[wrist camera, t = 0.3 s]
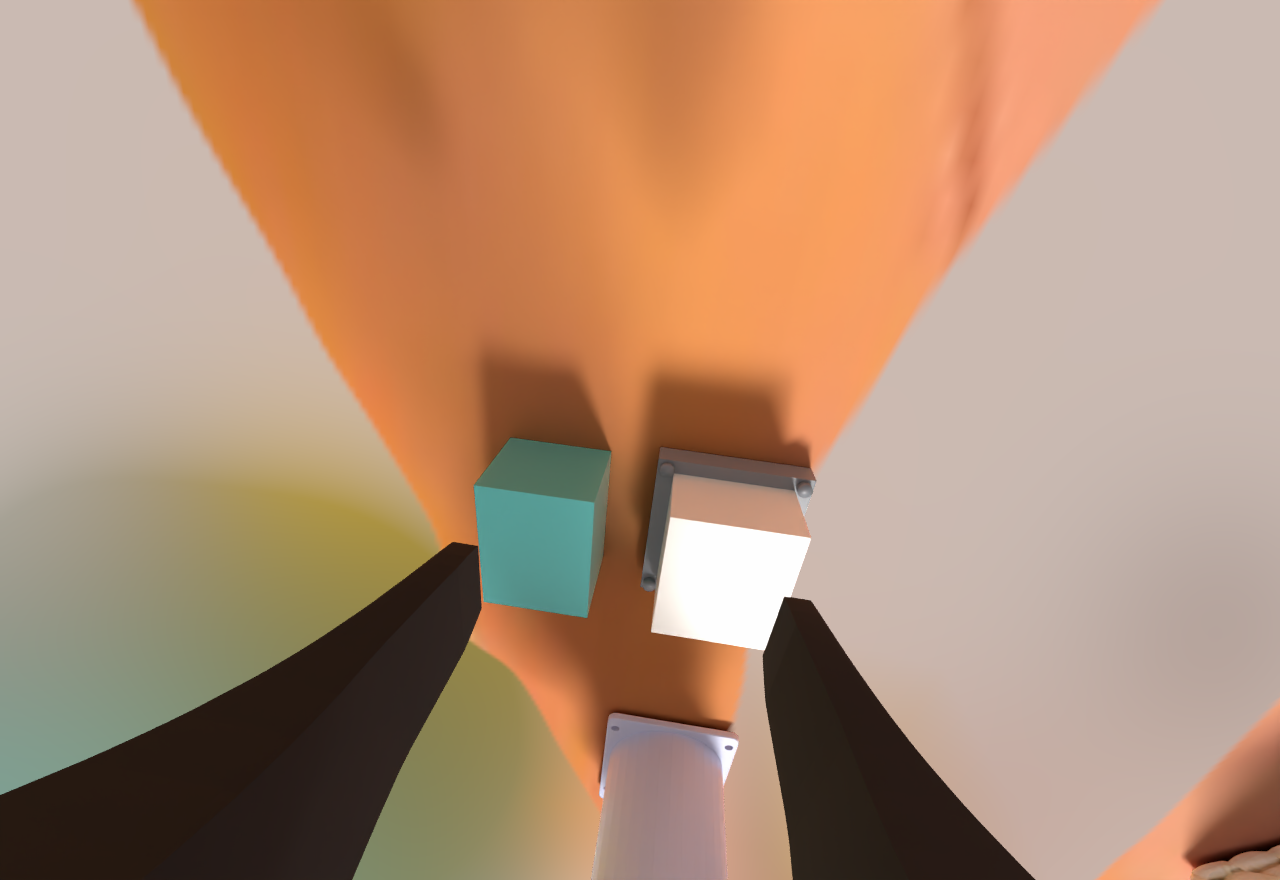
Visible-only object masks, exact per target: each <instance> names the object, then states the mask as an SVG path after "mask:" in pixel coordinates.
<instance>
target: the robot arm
mask: <svg viewBox="0 0 1280 880" xmlns="http://www.w3.org/2000/svg"><path fill="white" fill-rule="evenodd" d="M481 608H482V607H481V590H480V573H479V556H478V546H474V545H468V544H462V543H456V542H452V543H451V544H449V545H448V546H447V547H445V548H444V549H443V550H441V551H440V552H439V553H437V554H436V555H435V556H434V557H432V558H431V559H430V560H428V561H427V562H426V563H424V564H423V565H422V566H421V567H419V568H418V569H417V570H415V571H414V572H413V573H411V574H410V575H409V576H407V577H406V578H405V579H403V580H402V581H401V582H399V583H398V584H397V585H395V586H394V587H393V588H391V589H390V590H389V591H387V592H386V593H384V594H383V595H382V596H380V597H379V598H378V599H377V600H375V601H374V602H372V603H371V604H369V605H368V606H367V607H365V608H364V609H363V610H361V611H359V612H358V613H357V614H355V615H354V616H352V617H351V618H349V619H348V620H346V621H345V622H343V623H342V624H340V625H339V626H337V627H336V628H334V629H333V630H331V631H330V632H328V633H327V634H325V635H324V636H322V637H321V638H319V639H318V640H316V641H315V642H313V643H311V644H310V645H308V646H307V647H305V648H304V649H302V650H300V651H299V652H297V653H295V654H294V655H292V656H290V657H289V658H287V659H285V660H284V661H282V662H280V663H279V664H277V665H275V666H273V667H272V668H270V669H268V670H267V671H265V672H263V673H261V674H259V675H258V676H256V677H254V678H252V679H250V680H249V681H247V682H245V683H243V684H241V685H239V686H237V687H235V688H233V689H231V690H229V691H228V692H226V693H224V694H222V695H220V696H218V697H216V698H214V699H212V700H210V701H208V702H207V703H205V704H203V705H201V706H200V707H197V708H195V709H193V710H192V711H189V712H187V713H185V714H183V715H181V716H179V717H177V718H175V719H173V720H171V721H169V722H167V723H165V724H162V725H161V726H158V727H156V728H154V729H152V730H150V731H148V732H146V733H144V734H141V735H139V736H137V737H135V738H133V739H130V740H128V741H126V742H124V743H122V744H119V745H117V746H115V747H113V748H111V749H109V750H106V751H104V752H102V753H99V754H97V755H95V756H93V757H90V758H88V759H86V760H84V761H81V762H79V763H76V764H74V765H72V766H69V767H67V768H64V769H62V770H60V771H57V772H55V773H52V774H50V775H48V776H45V777H43V778H41V779H38V780H36V781H33V782H31V783H28V784H26V785H24V786H21V787H19V788H17V789H14V790H11V791H9V792H7V793H4V794H2V795H0V880H352V879H353V876H354V874H355V872H356V869H357V867H358V865H359V862H360V860H361V858H362V855H363V853H364V851H365V848H366V846H367V843H368V841H369V839H370V837H371V834H372V832H373V830H374V827H375V825H376V822H377V820H378V818H379V816H380V813H381V811H382V809H383V807H384V804H385V802H386V800H387V798H388V796H389V793H390V791H391V789H392V787H393V784H394V782H395V780H396V777H397V775H398V773H399V771H400V769H401V767H402V765H403V763H404V761H405V759H406V757H407V755H408V753H409V751H410V749H411V747H412V745H413V743H414V742H415V740H416V738H417V736H418V734H419V733H420V731H421V729H422V727H423V725H424V723H425V722H426V720H427V718H428V716H429V714H430V713H431V710H432V709H433V707H434V705H435V704H436V702H437V700H438V698H439V696H440V694H441V692H442V691H443V689H444V687H445V685H446V683H447V682H448V680H449V678H450V676H451V674H452V672H453V670H454V669H455V667H456V665H457V663H458V661H459V660H460V658H461V656H462V654H463V652H464V650H465V647H466V645H467V643H468V641H469V638H470V636H471V634H472V631H473V629H474V626H475V624H476V621H477V619H478V616H479V614H480V611H481ZM763 671H764V686H765V687H764V688H765V701H766V708H767V713H768V720H769V725H770V731H771V737H772V743H773V748H774V754H775V759H776V765H777V770H778V776H779V781H780V787H781V793H782V799H783V804H784V810H785V815H786V822H787V829H788V836H789V844H790V854H791V864H792V876H793V880H1035V879H1034V878H1033V877H1032V876H1031V875H1030V874H1029V873H1028V872H1027V871H1026V870H1025V869H1024V868H1023V867H1022V866H1021V865H1020V864H1019V863H1018V862H1017V861H1016V860H1015V858H1014V857H1013V856H1011V854H1010V853H1009V852H1008V851H1007V850H1006V849H1005V848H1004V847H1003V846H1002V845H1001V844H1000V843H999V842H998V841H997V840H996V839H995V838H994V837H993V836H992V835H991V833H989V831H988V830H987V829H986V828H985V827H984V826H983V825H982V824H981V823H980V822H979V821H978V820H977V819H976V818H975V817H974V815H973V814H972V813H971V812H970V811H969V810H968V809H967V808H966V807H965V806H964V805H963V803H962V802H961V801H960V800H959V799H958V798H957V797H956V795H955V794H954V793H953V792H952V791H951V790H950V789H949V788H948V787H947V785H946V784H945V783H944V782H943V780H942V779H941V778H940V777H939V776H938V775H937V774H936V772H935V771H934V770H933V769H932V768H931V767H930V765H929V764H928V763H927V762H926V761H925V759H924V758H923V757H922V756H921V755H920V753H919V752H918V751H917V750H916V749H915V747H914V746H913V745H912V744H911V742H910V741H909V740H908V739H907V737H906V736H905V735H904V733H903V732H902V731H901V729H900V728H899V727H898V725H896V723H895V722H894V720H893V719H892V718H891V716H890V715H889V714H888V713H887V711H886V710H885V708H884V707H883V706H882V704H881V703H880V702H879V700H878V699H877V697H876V696H875V695H874V693H873V692H872V691H871V689H870V688H869V686H868V685H867V683H866V682H865V681H864V679H863V678H862V676H861V675H860V673H859V672H858V671H857V669H856V668H855V666H854V665H853V663H852V662H851V660H850V659H849V658H848V656H847V654H846V653H845V651H844V650H843V648H842V647H841V646H840V644H839V642H838V641H837V639H836V638H835V637H834V635H833V633H832V632H831V630H830V629H829V627H828V626H827V624H826V623H825V621H824V620H823V618H822V617H821V615H820V613H819V612H818V610H817V609H816V608H815V606H814V604H813V603H812V602H811V601H810V600H804V599H798V598H792V597H786V596H784V598H783V601H782V603H781V606H780V609H779V612H778V615H777V617H776V620H775V623H774V626H773V628H772V631H771V634H770V637H769V640H768V642H767V645H766V648H765V651H764V654H763ZM738 744H739V740H738V735H737V734H735V733H733V732H728V731H722V730H716V729H710V728H704V727H698V726H692V725H686V724H680V723H674V722H669V721H663V720H657V719H651V718H645V717H639V716H633V715H627V714H621V713H612V714H610V715H609V717H608V724H607V732H606V741H605V749H604V757H603V766H602V774H601V782H600V790H599V796H600V797H601V798H603V805H602V811H601V818H600V824H599V831H598V838H597V844H596V851H595V857H594V864H593V871H592V878H591V880H728V875H727V855H726V834H725V815H724V793H723V786H724V784H725V781H726V778H727V775H728V772H729V769H730V767H731V764H732V761H733V758H734V755H735V753H736V750H737V747H738Z"/></svg>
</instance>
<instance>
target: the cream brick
mask: <svg viewBox="0 0 1280 880" xmlns="http://www.w3.org/2000/svg"><path fill="white" fill-rule="evenodd" d="M810 540H811V536H810V533H809V530H808V527H807V524H806V522H805V519H804V515H803V513H802V510H801V507H800V504H799V501H798V498H797V495H796V492H795V491H793V490H786V489H779V488H772V487H765V486H758V485H751V484H745V483H738V482H731V481H724V480H717V479H710V478H703V477H696V476H689V475H682V474H675V473H674V475H673V481H672V487H671V493H670V499H669V505H668V511H667V518H666V524H665V530H664V536H663V542H662V548H661V554H660V560H659V566H658V573H657V579H656V588H655V598H654V608H653V618H652V628H651V632H654V633H660V634H666V635H672V636H679V637H685V638H691V639H697V640H704V641H710V642H716V643H722V644H729V645H735V646H741V647H748V648H754V649H761V650H765V648H766V645H767V642H768V640H769V637H770V634H771V631H772V628H773V626H774V623H775V620H776V617H777V615H778V612H779V609H780V606H781V603H782V601H783V598H784V596H786V597H790V596H791V594H792V591H793V588H794V585H795V582H796V579H797V576H798V574H799V571H800V568H801V565H802V563H803V560H804V557H805V554H806V552H807V549H808V546H809V543H810Z"/></svg>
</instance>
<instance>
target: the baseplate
mask: <svg viewBox="0 0 1280 880" xmlns="http://www.w3.org/2000/svg"><path fill="white" fill-rule="evenodd" d="M674 473H675V474H682V475H689V476H696V477H703V478H710V479H717V480H724V481H731V482H738V483H745V484H751V485H758V486H765V487H772V488H779V489H786V490H793V491H795V492H796V495H797V498H798V501H799V504H800V507H801V510H802V513H803V515H804V516H805V513H806V510H807V507H808V504H809V501H810V498H811V495H812V493H813V489H814V487H815V484H816V479H815V477H814V474H813V472H812V470H811V468H806V467H799V466H792V465H785V464H778V463H771V462H763V461H756V460H749V459H742V458H735V457H728V456H721V455H714V454H707V453H700V452H693V451H686V450H679V449H672V448H665V447H660V453H659V460H658V467H657V474H656V481H655V488H654V495H653V502H652V509H651V516H650V523H649V530H648V537H647V544H646V551H645V558H644V565H643V572H642V579H641V586H640V587H643V589H644V590H646V591H653V590H654V589H655V588H656V579H657V573H658V566H659V560H660V554H661V548H662V542H663V536H664V530H665V524H666V518H667V511H668V505H669V499H670V493H671V487H672V481H673V475H674Z"/></svg>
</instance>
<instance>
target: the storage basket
mask: <svg viewBox="0 0 1280 880" xmlns="http://www.w3.org/2000/svg"><path fill="white" fill-rule="evenodd" d="M1191 880H1280V845H1278V846H1275V847H1273V848H1271V849H1270V850H1269V851H1250V852H1245V853H1241V854H1238V855H1236V856H1234V857H1233V858H1232V859H1230V860H1229V861H1228V862H1226V861H1217V862H1212V863H1207V864H1204V865H1201V866H1199V867H1197V868H1195V869H1194V870H1192V874H1191Z"/></svg>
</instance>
